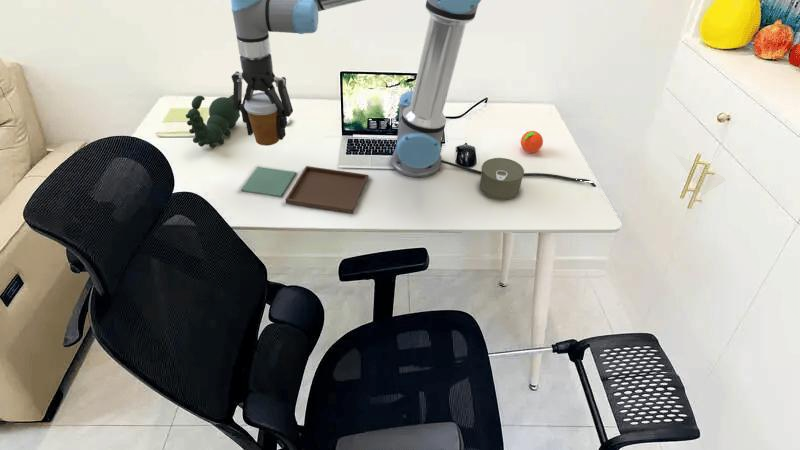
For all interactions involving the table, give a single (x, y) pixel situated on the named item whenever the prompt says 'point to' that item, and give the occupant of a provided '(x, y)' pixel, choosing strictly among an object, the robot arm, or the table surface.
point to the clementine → (531, 141)
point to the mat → (268, 181)
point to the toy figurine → (212, 121)
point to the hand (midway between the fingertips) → (266, 135)
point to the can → (501, 178)
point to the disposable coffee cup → (263, 119)
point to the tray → (328, 189)
